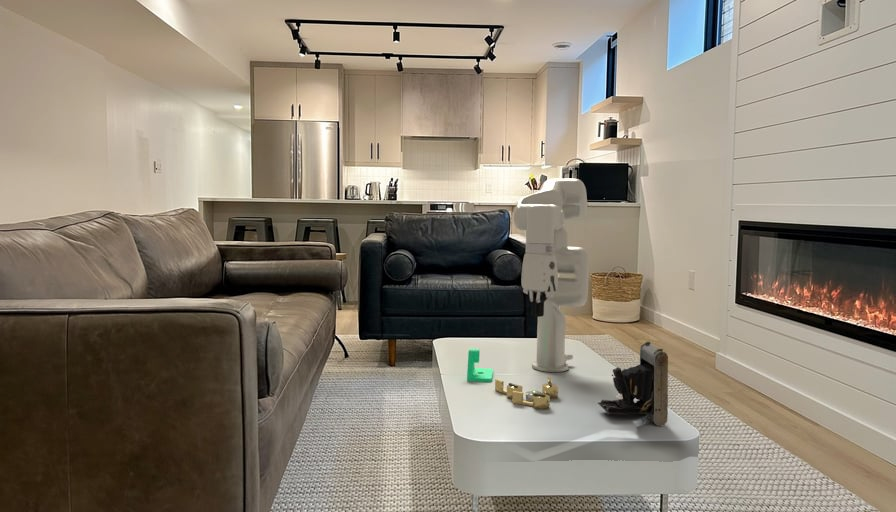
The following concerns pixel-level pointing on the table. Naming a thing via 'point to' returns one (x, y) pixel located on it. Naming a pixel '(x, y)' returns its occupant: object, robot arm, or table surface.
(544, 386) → the foot screw
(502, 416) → the table surface
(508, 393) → the foot screw
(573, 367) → the table surface
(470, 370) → the camera mount
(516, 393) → the foot screw
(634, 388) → the vintage camera
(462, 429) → the table surface
